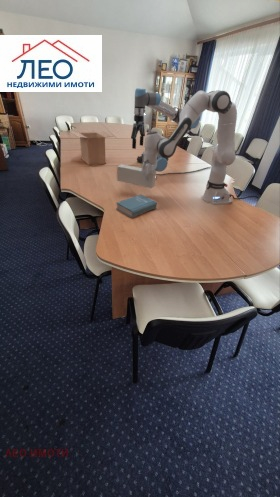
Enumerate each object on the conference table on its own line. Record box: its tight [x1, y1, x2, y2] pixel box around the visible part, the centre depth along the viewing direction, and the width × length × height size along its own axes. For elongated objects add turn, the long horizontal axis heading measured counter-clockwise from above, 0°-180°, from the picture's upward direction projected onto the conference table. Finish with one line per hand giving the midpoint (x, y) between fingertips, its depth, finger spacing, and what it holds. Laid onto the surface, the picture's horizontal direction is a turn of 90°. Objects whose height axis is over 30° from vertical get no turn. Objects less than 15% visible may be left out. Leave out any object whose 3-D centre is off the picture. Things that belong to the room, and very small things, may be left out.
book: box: [115, 194, 158, 219], centre depth 150 cm, size 23×16×5 cm
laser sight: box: [136, 153, 143, 164], centre depth 240 cm, size 10×22×10 cm, turn 78°
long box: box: [116, 163, 157, 189], centre depth 161 cm, size 28×6×11 cm, turn 66°
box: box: [70, 129, 114, 166], centre depth 229 cm, size 44×36×27 cm
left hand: (137, 147), depth 170 cm, fingers open, 13 cm apart
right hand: (148, 178), depth 158 cm, fingers closed on long box, 6 cm apart
